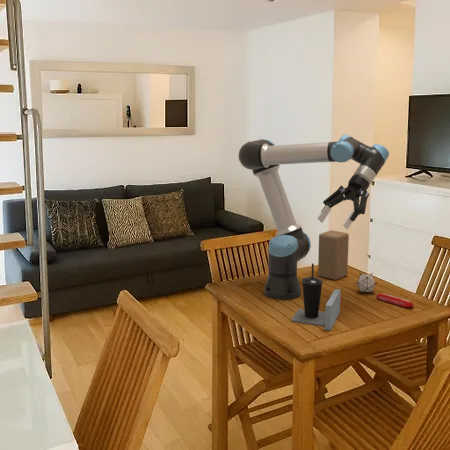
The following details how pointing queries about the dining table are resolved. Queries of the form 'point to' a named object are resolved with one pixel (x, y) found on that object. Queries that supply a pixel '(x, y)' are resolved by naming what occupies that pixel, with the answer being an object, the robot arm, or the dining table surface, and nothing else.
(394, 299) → the candy bar
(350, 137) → the robot arm
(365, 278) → the game die
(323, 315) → the rubber mat
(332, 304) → the low wall
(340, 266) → the wooden block
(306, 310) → the drinking cup
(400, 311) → the dining table surface
